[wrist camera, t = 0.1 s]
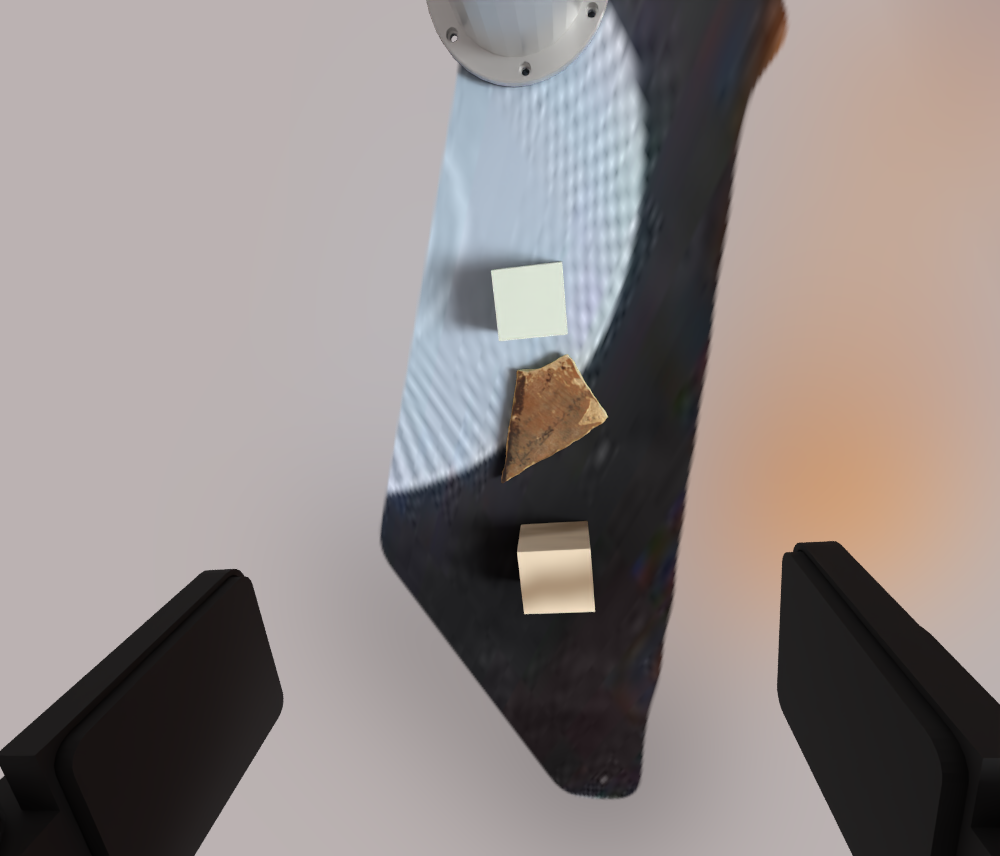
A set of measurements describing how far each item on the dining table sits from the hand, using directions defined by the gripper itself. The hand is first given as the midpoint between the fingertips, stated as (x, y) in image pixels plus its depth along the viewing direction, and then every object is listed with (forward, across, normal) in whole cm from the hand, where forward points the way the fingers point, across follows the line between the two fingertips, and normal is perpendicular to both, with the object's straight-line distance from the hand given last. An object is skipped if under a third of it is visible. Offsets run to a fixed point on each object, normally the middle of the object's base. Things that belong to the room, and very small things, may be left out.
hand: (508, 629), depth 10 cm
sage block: (+37, +1, -3) cm, 37 cm away
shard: (+37, 0, +7) cm, 38 cm away
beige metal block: (+37, +1, +20) cm, 42 cm away
